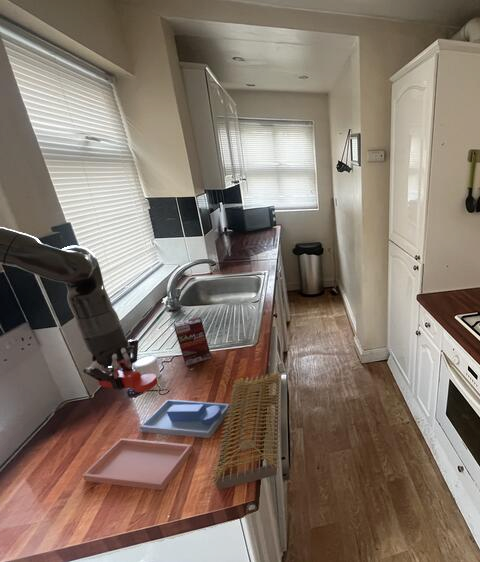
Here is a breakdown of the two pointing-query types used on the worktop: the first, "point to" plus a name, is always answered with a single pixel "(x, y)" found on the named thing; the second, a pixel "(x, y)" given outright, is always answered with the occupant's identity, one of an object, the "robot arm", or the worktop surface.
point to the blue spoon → (194, 413)
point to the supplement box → (192, 340)
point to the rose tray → (139, 464)
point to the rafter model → (243, 406)
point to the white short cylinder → (147, 365)
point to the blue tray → (164, 425)
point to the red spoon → (134, 381)
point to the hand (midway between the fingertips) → (125, 384)
